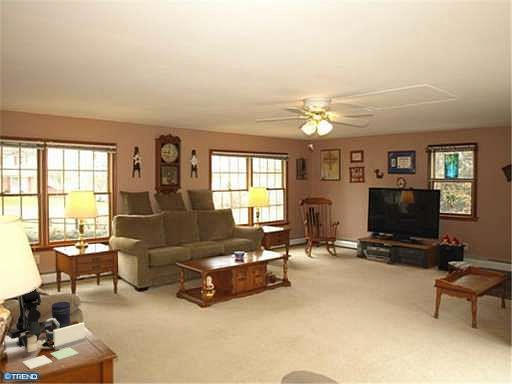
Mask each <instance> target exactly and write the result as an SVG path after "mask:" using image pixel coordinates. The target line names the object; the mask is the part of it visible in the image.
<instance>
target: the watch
mask: <svg viewBox="0 0 512 384" xmlns="http://www.w3.org/2000/svg"><path fill="white" fill-rule="evenodd" d="M52 320H53V322H54V323H55V325H56V326H57V328H56V329H59V325H60V324H59V322H58V321H57V320H56V319H55V318H54V319H53V318H52V317H50V318H48V319H46V320H45V321H47V322H50V321H52ZM56 329H55V330H56ZM44 332H45V338H46V340H48V339H49V338H51V337H52V336H53V331H52V330H45V329H44Z"/></svg>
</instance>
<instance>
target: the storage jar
mask: <svg viewBox="0 0 512 384" xmlns="http://www.w3.org/2000/svg"><path fill="white" fill-rule="evenodd" d="M70 313H71V303H70V302H69V301H58V302H54V303H52V304H51V316H52V317H51V318H53V319H54V318H55V319H56V320H57V321H58V322H59V324H60V325H59V329H60V328H64V327H67V326H71V317H70V316H71V315H70ZM51 325H52V328H51V329H52V330H51V331H53V330H55V329H56V328H57V326H56V325H55V323H54V322H53V320H51Z"/></svg>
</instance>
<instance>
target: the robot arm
mask: <svg viewBox="0 0 512 384" xmlns="http://www.w3.org/2000/svg"><path fill="white" fill-rule="evenodd" d="M17 299H18V313H19V315H18V317H17V318H16V320H15V321H16V323H15V325H14V329H13V328H12V329H10V330H8V332H7V336H8V337H9V338H10V339H13V340H14V339H17V342H15V344H16V345H17V346H18V347H19V348H20V347H24V346H25V347H24V349H25V348H27V341H26V337H27V336H26V335H29V334H30V335H36V336H37V342H38V341H39V338H40V336H41V335H42V334H43V333H45V330H48V331H50V330H51V329H52V322H50V321H48V322H47V321H46V320H45V321H39V319H40V318H41V312H40V310H39V309H38V306H41V304H42V300H41V295H40V292H39V291H37V288H36V289H35V290H34V291H32V292H30V293H28V294H25V295H23V296H20V297H18V296H17Z"/></svg>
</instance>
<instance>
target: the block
mask: <svg viewBox="0 0 512 384" xmlns="http://www.w3.org/2000/svg"><path fill="white" fill-rule="evenodd" d="M26 336H27V337H26V341H27V348H25V346H23V347H24V351H26V352H27V353H30V352H34V351H37V350H38V347H37V345H38V341H37V336H36V335H30V334H29V335H26Z"/></svg>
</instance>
